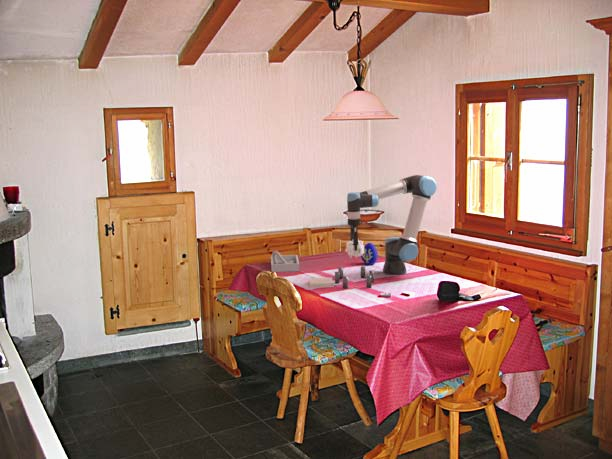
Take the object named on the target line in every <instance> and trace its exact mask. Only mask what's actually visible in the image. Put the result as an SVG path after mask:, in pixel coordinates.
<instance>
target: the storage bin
mask: <svg viewBox="0 0 612 459" xmlns="http://www.w3.org/2000/svg"><path fill="white" fill-rule="evenodd" d="M280 255H281V256H282V257H283V259H284V260H285V261H286V262H289V261H291V260H293V261H294V263H293V264H283V263H282V261H281V260H280V259H279V257H278V256H277V255H275V256H276V259H277V262H278V264H275V263H274V260H273V257H272V255H270V263H271V270H270V271H271V273H282V272H283V273H284V272H286V273H287V272H299V271H300V261H299V256H298V254H285V255H284V254H280ZM289 259H290V260H289Z"/></svg>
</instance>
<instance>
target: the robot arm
mask: <svg viewBox="0 0 612 459" xmlns="http://www.w3.org/2000/svg"><path fill="white" fill-rule="evenodd" d="M437 188H438V186H437V182H436V180H435V179H434V178H433V177H431V176H427V175H419V174H415V175H414V174H413V175H411V176H408V177H404V178H401V179H399V180H398V181H396V182H393V183H389V184H386V185H382V186H379V187H375V188H371V189H368V190H364V191H361V192H358V191H357V192H355V191H354V192H349V193H347V197H346V198H347V199H346V202H347V207H346V208H347V213H346V215H347V225H348V226H350V229H349V230H350V231H349V232H350V235H349V237H350V239H349V240H350V241H352V240H353V244H352V245H353V256H352V257H354V256H355V257H356V256H357V257H358V239H359V234H358V233H359V232H358V227H357V226H361V209H363V208H376V207H377V206H379V202H380V200H383V199H386V198H389V197H393V196H397V195H400V194H403V195H405V194H411V196H412V202H411V206H410V209H409V212H408V216H407V219H406V222H405V227H404V230H403V233H402V235H400V236H393V237H386V239H385V243H384V244H385V245H384V246H385V247H384V248H385V249H384V252H385V254H384V255H385V257H384V258H385V260H384V264H383V267H382V273H383V274H385V275H390V276H401V275H404V274H406V273H407V267H406V264H405V262H412V261H414V260H415V259H416V258H417V257H418V254H419V248H418V240H417V237H418V234H419V231H420V226H421V223H422V220H423V216H424V214H425V208H426V206H427V202H428V201H430V200H431V197H432V196H433V195H434V194H435V193H436V192H437Z"/></svg>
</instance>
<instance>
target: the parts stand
mask: <svg viewBox="0 0 612 459" xmlns="http://www.w3.org/2000/svg"><path fill="white" fill-rule="evenodd" d="M308 284H309V289H321V288H322V289H323V288H334V287H335V286H334V285H335V281H334V280H333V278H332V277H314V278H311V277H310V278H308Z"/></svg>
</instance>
